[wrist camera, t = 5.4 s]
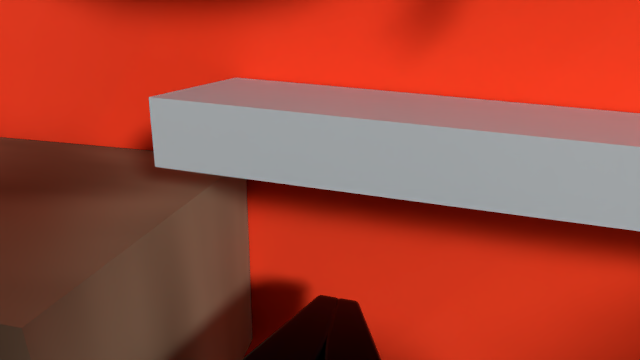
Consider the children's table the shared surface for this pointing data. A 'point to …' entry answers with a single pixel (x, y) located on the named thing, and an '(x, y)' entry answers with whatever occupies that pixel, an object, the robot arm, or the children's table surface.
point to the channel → (408, 147)
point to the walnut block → (119, 257)
